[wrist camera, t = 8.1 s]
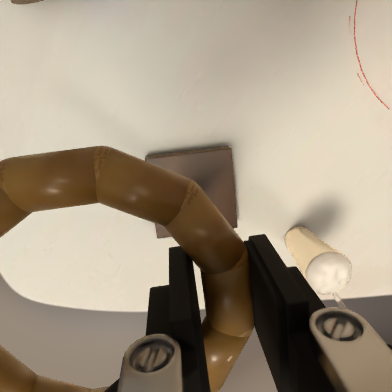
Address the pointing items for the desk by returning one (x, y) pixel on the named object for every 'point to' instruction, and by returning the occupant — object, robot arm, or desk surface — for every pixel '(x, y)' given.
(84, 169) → the ring
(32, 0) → the figurine character
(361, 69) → the figurine
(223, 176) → the peg stand
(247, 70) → the desk surface
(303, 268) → the milkshake
